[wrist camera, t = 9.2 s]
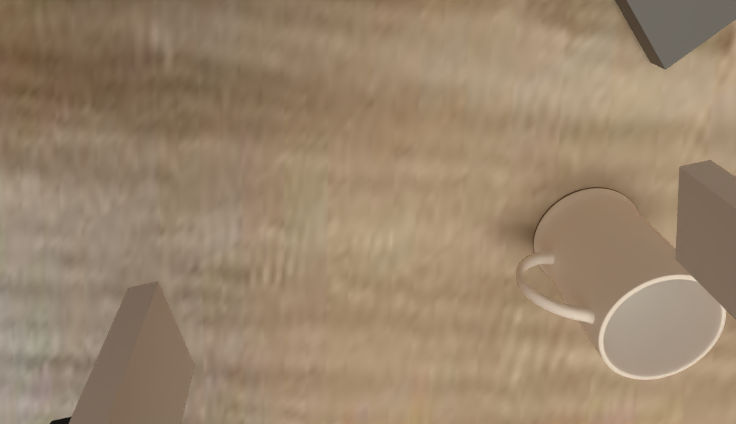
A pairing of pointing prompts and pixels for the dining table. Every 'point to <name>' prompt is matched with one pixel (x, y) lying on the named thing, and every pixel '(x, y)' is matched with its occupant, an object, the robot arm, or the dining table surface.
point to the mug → (622, 285)
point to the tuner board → (675, 25)
